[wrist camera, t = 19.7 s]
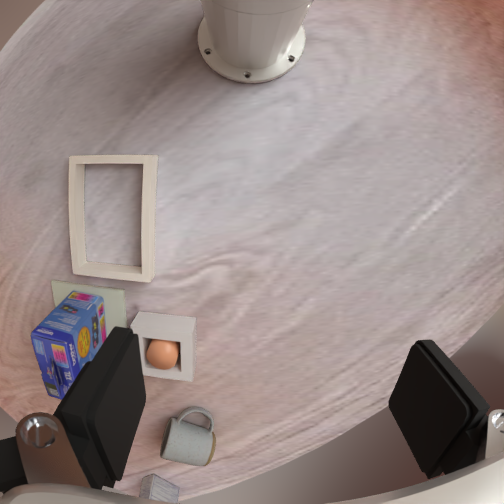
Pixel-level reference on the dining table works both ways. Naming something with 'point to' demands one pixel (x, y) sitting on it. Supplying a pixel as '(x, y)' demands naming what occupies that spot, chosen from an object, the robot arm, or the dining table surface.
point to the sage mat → (111, 296)
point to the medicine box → (158, 489)
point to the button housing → (170, 330)
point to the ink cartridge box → (69, 340)
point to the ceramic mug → (188, 440)
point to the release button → (163, 353)
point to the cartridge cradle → (78, 220)
